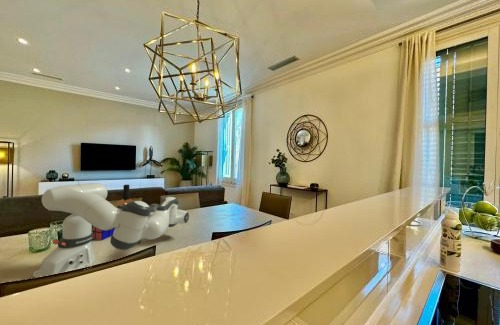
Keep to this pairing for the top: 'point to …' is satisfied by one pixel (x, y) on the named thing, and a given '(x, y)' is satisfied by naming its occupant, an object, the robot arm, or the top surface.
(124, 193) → the whiskey bottle
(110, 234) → the puzzle cube
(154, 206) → the block
